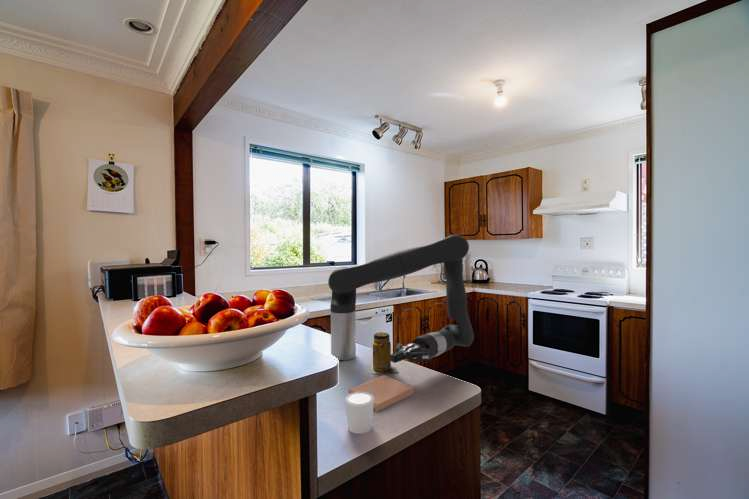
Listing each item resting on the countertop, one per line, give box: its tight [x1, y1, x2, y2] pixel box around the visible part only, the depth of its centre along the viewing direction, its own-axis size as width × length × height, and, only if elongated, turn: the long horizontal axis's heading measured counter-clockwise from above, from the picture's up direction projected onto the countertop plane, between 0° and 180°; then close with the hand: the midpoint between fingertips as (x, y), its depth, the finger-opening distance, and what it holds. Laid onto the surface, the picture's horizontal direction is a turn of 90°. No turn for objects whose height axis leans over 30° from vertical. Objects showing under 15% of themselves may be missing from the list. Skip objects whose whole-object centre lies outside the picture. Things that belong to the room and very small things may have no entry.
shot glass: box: [344, 392, 374, 435], centre depth 80 cm, size 7×7×7 cm
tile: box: [348, 374, 414, 412], centre depth 97 cm, size 2×12×14 cm
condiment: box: [370, 332, 399, 375], centre depth 114 cm, size 7×8×12 cm
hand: (392, 358), depth 99 cm, fingers closed
